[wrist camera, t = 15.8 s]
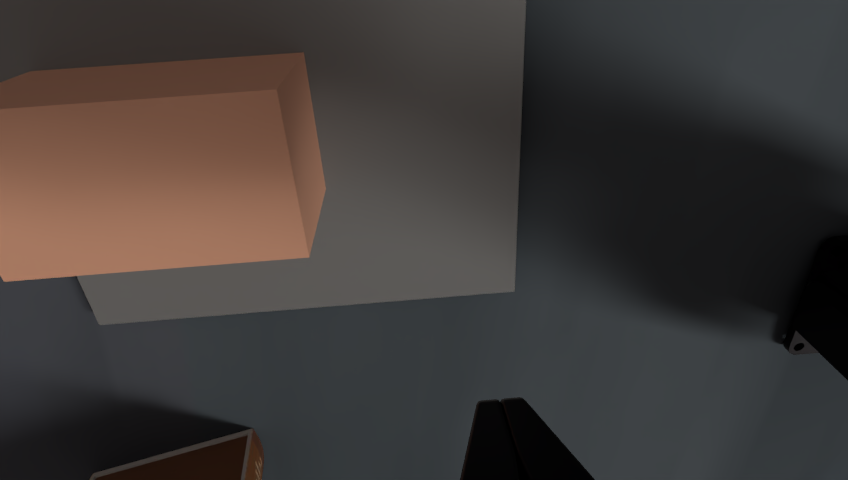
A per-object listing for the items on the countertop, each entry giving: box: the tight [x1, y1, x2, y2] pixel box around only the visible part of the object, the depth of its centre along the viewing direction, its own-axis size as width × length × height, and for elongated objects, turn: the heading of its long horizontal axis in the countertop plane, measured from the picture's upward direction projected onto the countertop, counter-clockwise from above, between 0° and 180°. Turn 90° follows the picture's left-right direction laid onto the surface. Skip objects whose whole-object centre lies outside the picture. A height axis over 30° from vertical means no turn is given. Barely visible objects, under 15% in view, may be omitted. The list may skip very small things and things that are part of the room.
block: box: [0, 52, 326, 282], centre depth 17 cm, size 5×5×9 cm
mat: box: [0, 0, 526, 325], centre depth 19 cm, size 18×16×1 cm
